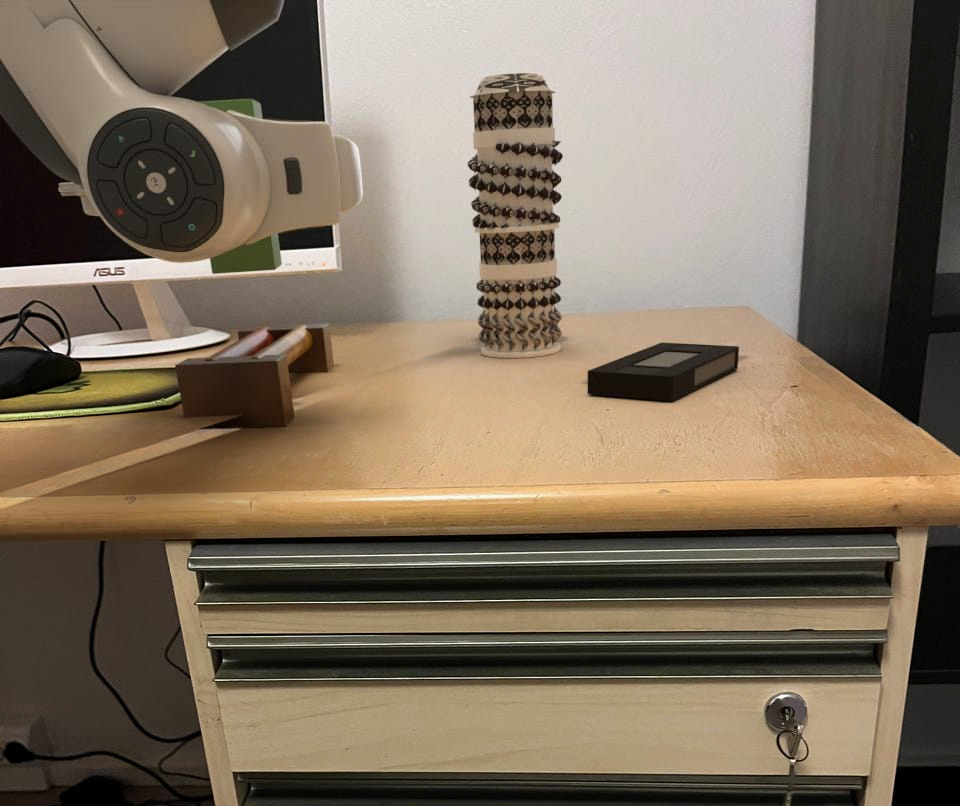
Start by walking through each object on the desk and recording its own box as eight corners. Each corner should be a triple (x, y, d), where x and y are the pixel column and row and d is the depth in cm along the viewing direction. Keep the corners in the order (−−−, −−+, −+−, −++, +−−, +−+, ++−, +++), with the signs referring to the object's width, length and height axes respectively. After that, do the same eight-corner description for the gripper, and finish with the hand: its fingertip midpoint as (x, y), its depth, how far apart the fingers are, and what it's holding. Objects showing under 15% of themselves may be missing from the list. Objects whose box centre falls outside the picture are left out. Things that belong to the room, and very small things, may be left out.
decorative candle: (581, 345, 104) (579, 73, 93) (535, 360, 97) (528, 68, 86) (508, 341, 109) (498, 82, 98) (459, 355, 102) (443, 78, 91)
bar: (212, 274, 78) (184, 102, 73) (222, 268, 83) (196, 106, 78) (275, 269, 79) (252, 98, 73) (282, 264, 83) (260, 103, 78)
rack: (186, 430, 77) (174, 363, 75) (253, 380, 95) (245, 325, 93) (286, 426, 77) (277, 359, 75) (335, 376, 95) (329, 321, 93)
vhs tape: (738, 369, 88) (739, 346, 87) (671, 402, 78) (672, 376, 77) (661, 364, 92) (661, 342, 91) (587, 395, 82) (587, 370, 81)
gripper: (61, 241, 67) (113, 230, 80) (362, 223, 68) (367, 215, 80) (38, 136, 64) (96, 143, 77) (352, 119, 65) (359, 129, 78)
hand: (237, 180), depth 79 cm, fingers closed on bar, 5 cm apart
